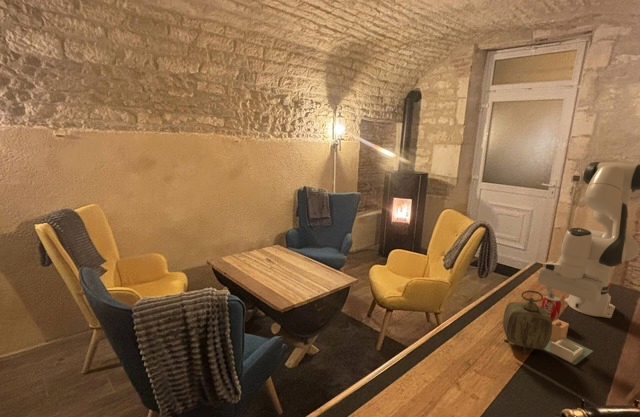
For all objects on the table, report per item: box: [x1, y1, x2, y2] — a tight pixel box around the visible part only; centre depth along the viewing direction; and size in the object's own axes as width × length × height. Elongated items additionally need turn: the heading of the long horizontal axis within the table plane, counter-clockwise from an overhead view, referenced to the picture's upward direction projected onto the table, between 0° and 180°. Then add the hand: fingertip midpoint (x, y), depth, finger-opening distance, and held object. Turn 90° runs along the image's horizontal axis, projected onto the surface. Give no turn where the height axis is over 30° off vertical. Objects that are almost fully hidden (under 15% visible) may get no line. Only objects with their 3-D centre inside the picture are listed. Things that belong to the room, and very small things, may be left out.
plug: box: [550, 318, 570, 342], centre depth 133 cm, size 6×4×8 cm, turn 122°
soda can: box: [540, 293, 562, 322], centre depth 147 cm, size 7×7×12 cm
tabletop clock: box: [502, 290, 552, 354], centre depth 125 cm, size 14×9×25 cm, turn 71°
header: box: [549, 339, 583, 363], centre depth 125 cm, size 9×7×4 cm
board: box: [543, 338, 594, 366], centre depth 131 cm, size 16×20×1 cm
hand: (564, 302), depth 130 cm, fingers open, 8 cm apart
